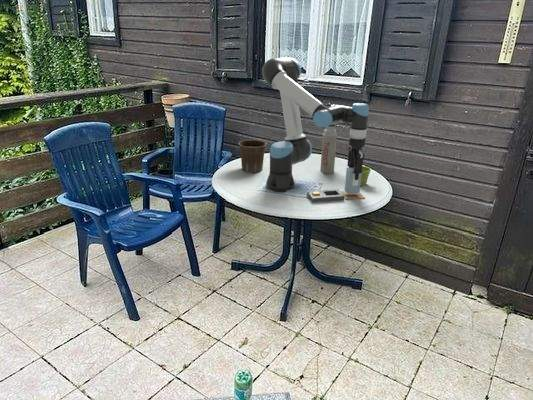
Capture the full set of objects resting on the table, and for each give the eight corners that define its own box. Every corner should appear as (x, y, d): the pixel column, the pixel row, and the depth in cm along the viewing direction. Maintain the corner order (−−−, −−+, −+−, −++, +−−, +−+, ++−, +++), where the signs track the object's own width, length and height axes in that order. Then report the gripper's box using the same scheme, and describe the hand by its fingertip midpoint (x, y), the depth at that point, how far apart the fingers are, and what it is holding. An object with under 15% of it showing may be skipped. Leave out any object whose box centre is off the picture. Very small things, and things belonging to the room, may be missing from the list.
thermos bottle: (327, 174, 228) (330, 126, 217) (317, 170, 234) (320, 123, 223) (336, 171, 233) (340, 124, 222) (327, 168, 239) (330, 122, 227)
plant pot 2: (361, 188, 209) (363, 172, 205) (348, 183, 216) (349, 167, 212) (372, 184, 214) (374, 169, 210) (359, 179, 221) (361, 164, 217)
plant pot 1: (269, 166, 240) (269, 140, 234) (262, 175, 226) (262, 148, 219) (243, 164, 244) (243, 138, 237) (235, 172, 229) (234, 145, 223)
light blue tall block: (344, 190, 198) (346, 167, 193) (355, 189, 199) (358, 167, 194) (347, 193, 194) (350, 170, 189) (359, 192, 195) (362, 170, 190)
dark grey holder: (306, 196, 197) (307, 189, 196) (337, 194, 200) (337, 187, 199) (312, 203, 189) (312, 196, 188) (343, 201, 192) (344, 194, 191)
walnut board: (338, 193, 201) (338, 191, 201) (356, 192, 203) (357, 190, 203) (345, 201, 192) (346, 199, 192) (364, 200, 194) (365, 197, 194)
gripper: (373, 141, 178) (367, 189, 188) (357, 132, 194) (352, 177, 203) (357, 142, 177) (352, 190, 186) (343, 133, 193) (339, 177, 202)
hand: (352, 183), depth 195 cm, fingers closed on light blue tall block, 4 cm apart
